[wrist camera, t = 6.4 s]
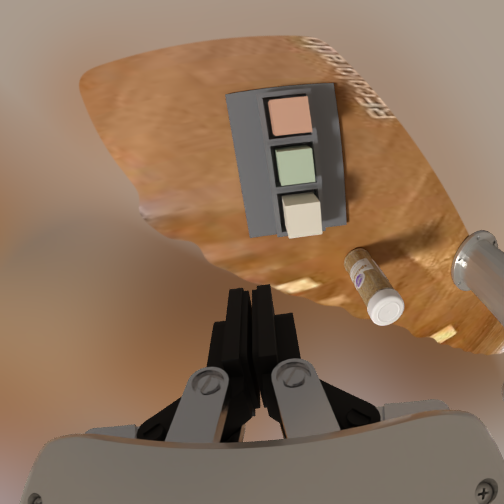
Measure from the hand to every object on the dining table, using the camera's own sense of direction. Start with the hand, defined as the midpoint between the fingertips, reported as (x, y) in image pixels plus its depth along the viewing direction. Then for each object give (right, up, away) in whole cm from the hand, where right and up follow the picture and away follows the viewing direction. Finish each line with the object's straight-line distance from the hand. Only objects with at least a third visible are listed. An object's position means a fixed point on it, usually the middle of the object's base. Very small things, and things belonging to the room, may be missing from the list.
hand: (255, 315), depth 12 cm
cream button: (+6, +8, +25) cm, 27 cm away
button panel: (+5, +15, +25) cm, 30 cm away
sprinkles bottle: (+16, +1, +32) cm, 36 cm away
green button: (+5, +14, +24) cm, 29 cm away
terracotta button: (+4, +19, +20) cm, 28 cm away
